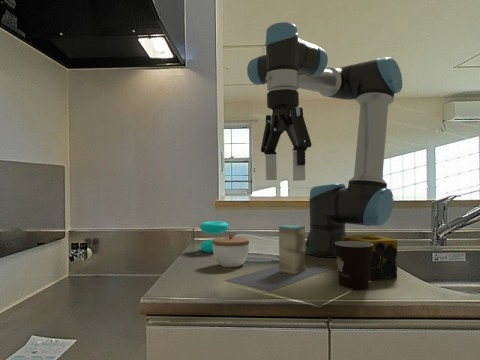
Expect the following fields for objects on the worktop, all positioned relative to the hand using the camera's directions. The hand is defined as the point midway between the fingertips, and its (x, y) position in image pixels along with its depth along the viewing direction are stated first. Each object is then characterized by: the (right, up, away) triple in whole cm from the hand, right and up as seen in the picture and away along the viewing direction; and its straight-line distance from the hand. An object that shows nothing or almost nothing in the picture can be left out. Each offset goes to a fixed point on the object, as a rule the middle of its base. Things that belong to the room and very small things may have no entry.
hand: (284, 180), depth 93 cm
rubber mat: (0, -25, +8) cm, 26 cm away
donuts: (-20, -25, +45) cm, 55 cm away
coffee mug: (+16, -25, -1) cm, 30 cm away
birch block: (+4, -24, +12) cm, 27 cm away
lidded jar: (-13, -25, +20) cm, 35 cm away
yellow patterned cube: (+23, -25, +8) cm, 35 cm away
